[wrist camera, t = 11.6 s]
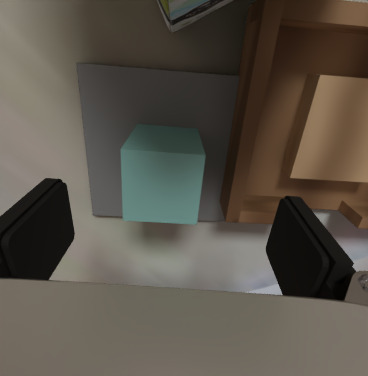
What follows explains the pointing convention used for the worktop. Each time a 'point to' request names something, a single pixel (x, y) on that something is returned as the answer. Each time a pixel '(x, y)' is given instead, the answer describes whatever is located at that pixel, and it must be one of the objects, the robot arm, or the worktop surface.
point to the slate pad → (153, 115)
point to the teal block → (162, 174)
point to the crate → (300, 111)
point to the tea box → (187, 11)
